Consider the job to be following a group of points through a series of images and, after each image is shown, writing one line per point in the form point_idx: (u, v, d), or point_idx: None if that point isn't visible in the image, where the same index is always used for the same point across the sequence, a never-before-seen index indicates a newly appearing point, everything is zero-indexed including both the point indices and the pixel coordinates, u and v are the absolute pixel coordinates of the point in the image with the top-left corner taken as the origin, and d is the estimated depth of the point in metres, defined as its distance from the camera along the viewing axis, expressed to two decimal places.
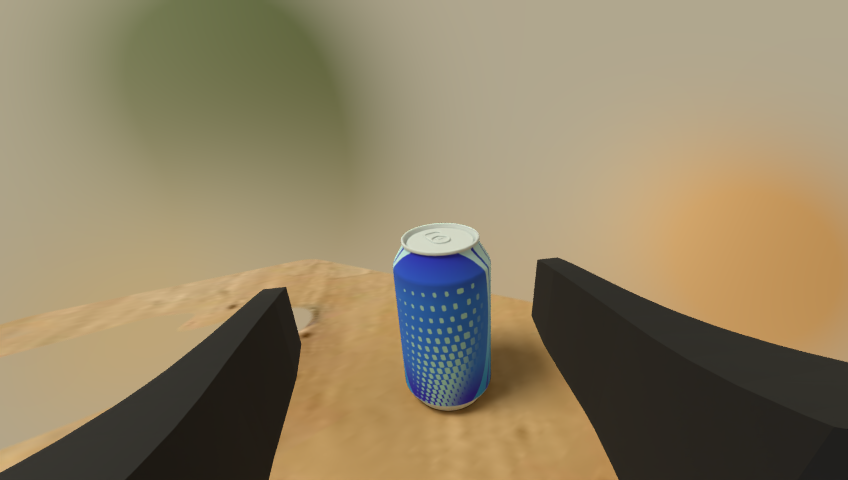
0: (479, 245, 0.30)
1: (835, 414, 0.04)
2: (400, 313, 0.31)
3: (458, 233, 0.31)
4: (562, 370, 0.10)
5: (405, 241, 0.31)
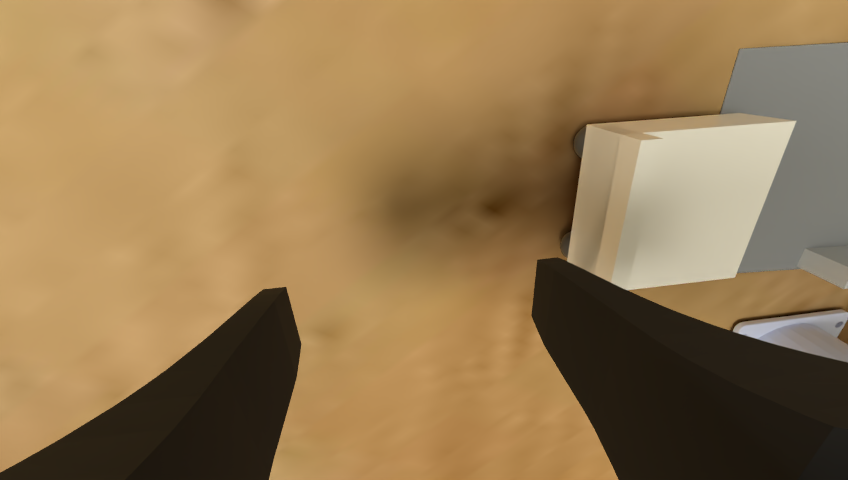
0: None
1: (835, 415, 0.04)
2: None
3: None
4: (562, 370, 0.10)
5: None
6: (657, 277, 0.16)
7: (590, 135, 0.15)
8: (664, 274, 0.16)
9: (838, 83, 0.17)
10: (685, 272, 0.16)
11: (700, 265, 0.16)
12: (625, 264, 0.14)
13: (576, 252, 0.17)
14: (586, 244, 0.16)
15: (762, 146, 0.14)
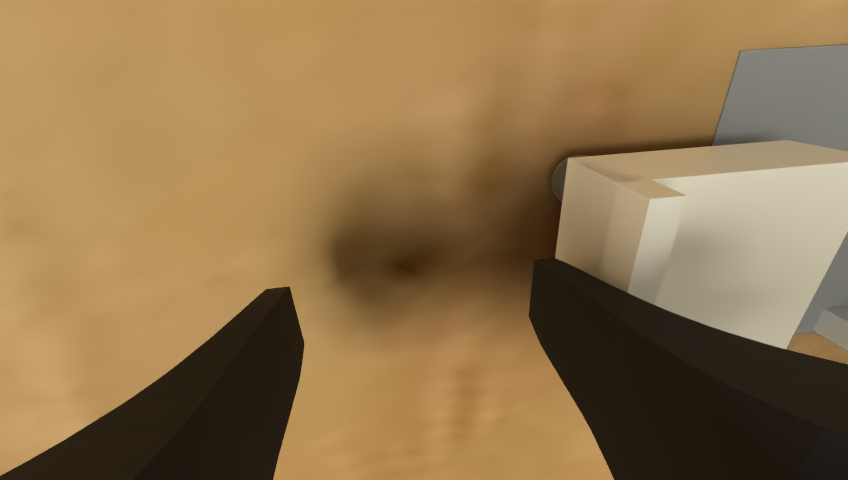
0: None
1: (828, 416, 0.04)
2: None
3: None
4: (558, 370, 0.10)
5: None
6: None
7: (572, 175, 0.10)
8: None
9: None
10: None
11: None
12: None
13: None
14: None
15: (831, 195, 0.09)
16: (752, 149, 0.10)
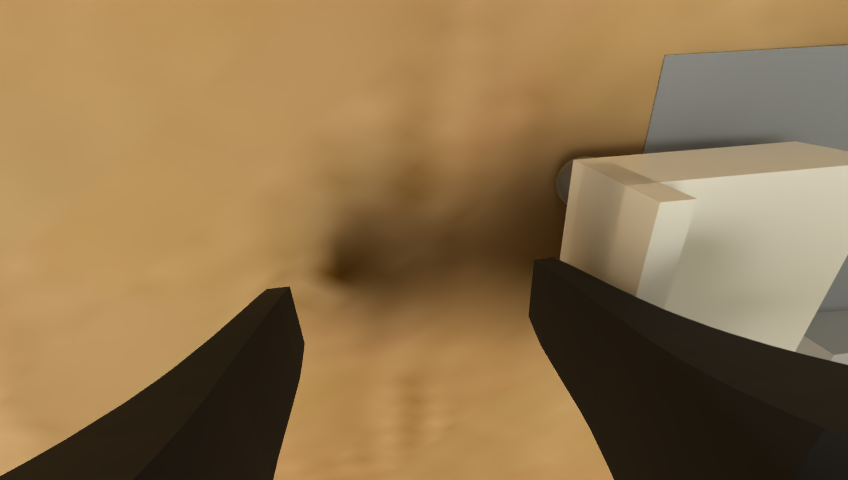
0: None
1: (827, 415, 0.04)
2: None
3: None
4: (558, 370, 0.10)
5: None
6: None
7: (578, 176, 0.10)
8: None
9: (809, 104, 0.12)
10: None
11: None
12: None
13: None
14: None
15: (842, 198, 0.09)
16: (761, 151, 0.10)
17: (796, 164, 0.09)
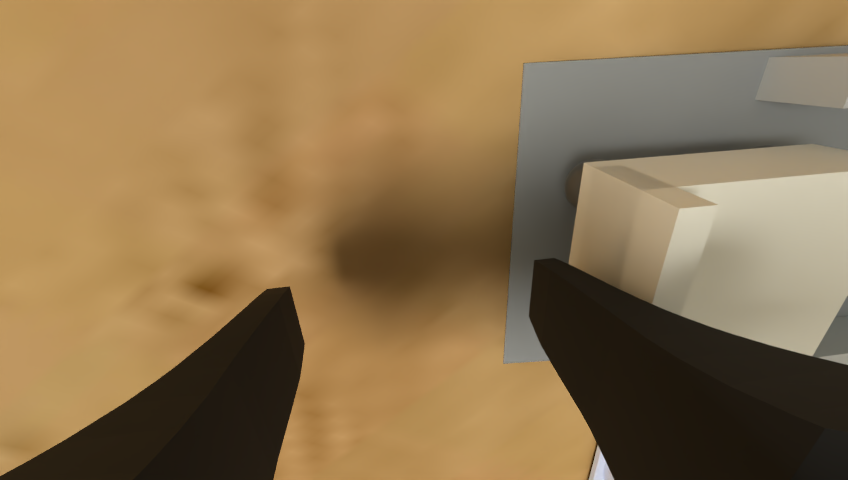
0: None
1: (826, 415, 0.04)
2: None
3: None
4: (558, 370, 0.10)
5: None
6: None
7: (588, 180, 0.10)
8: None
9: (683, 113, 0.11)
10: None
11: None
12: None
13: None
14: None
15: None
16: (778, 153, 0.10)
17: (817, 168, 0.09)
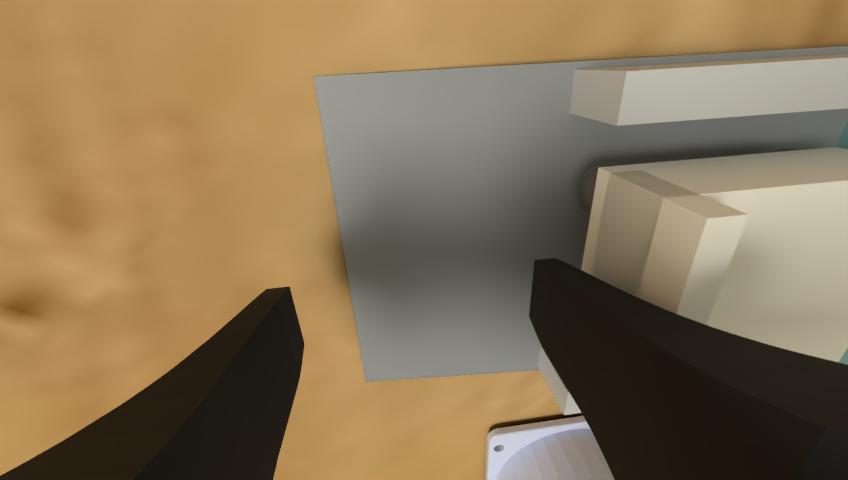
0: None
1: (827, 415, 0.04)
2: None
3: None
4: (558, 370, 0.10)
5: None
6: None
7: (603, 185, 0.09)
8: None
9: (496, 127, 0.11)
10: None
11: None
12: None
13: None
14: None
15: None
16: (801, 158, 0.09)
17: (846, 173, 0.08)
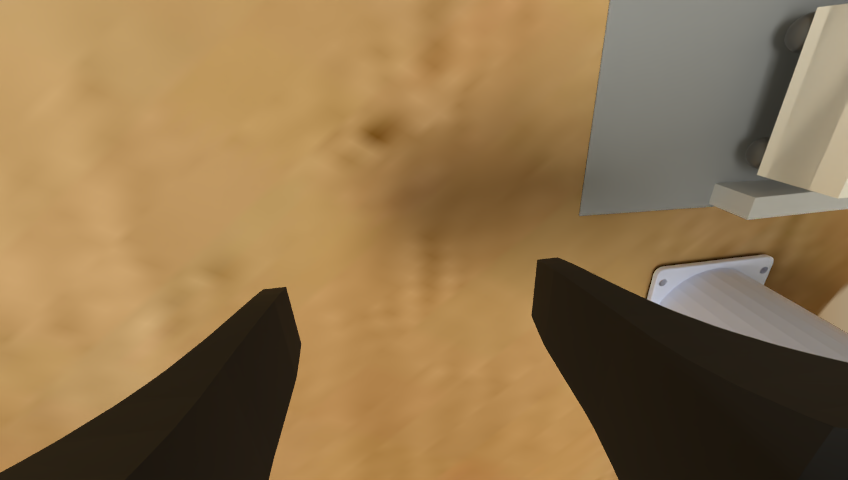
0: None
1: (835, 414, 0.04)
2: None
3: None
4: (562, 370, 0.10)
5: None
6: None
7: (823, 17, 0.14)
8: None
9: None
10: None
11: None
12: None
13: (780, 152, 0.17)
14: (802, 138, 0.16)
15: None
16: None
17: None
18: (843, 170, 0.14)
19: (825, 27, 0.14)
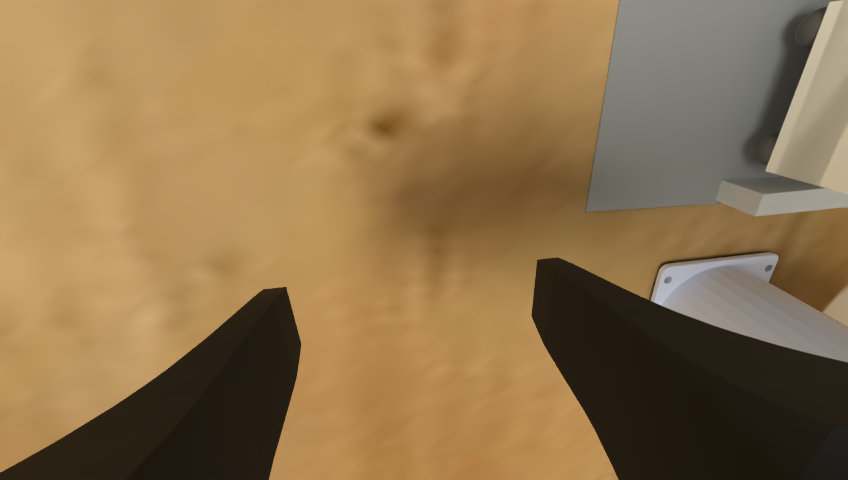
0: None
1: (835, 415, 0.04)
2: None
3: None
4: (562, 370, 0.10)
5: None
6: None
7: (835, 12, 0.14)
8: None
9: None
10: None
11: None
12: None
13: (790, 149, 0.17)
14: (813, 134, 0.16)
15: None
16: None
17: None
18: None
19: (837, 22, 0.14)
